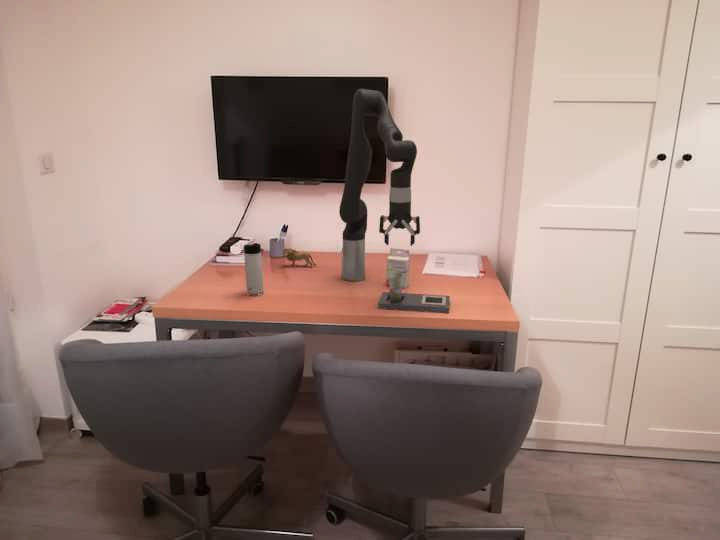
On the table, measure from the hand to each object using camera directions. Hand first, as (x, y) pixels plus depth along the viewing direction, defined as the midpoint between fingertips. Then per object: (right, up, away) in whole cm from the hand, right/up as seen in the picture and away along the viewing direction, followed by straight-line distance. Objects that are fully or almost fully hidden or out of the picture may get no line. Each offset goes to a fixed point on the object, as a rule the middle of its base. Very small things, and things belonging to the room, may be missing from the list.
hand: (399, 244), depth 189 cm
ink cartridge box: (+1, -15, +25) cm, 30 cm away
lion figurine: (-41, -8, +49) cm, 65 cm away
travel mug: (-54, -18, +17) cm, 60 cm away
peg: (-1, -21, +6) cm, 22 cm away
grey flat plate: (+6, -22, +5) cm, 23 cm away
